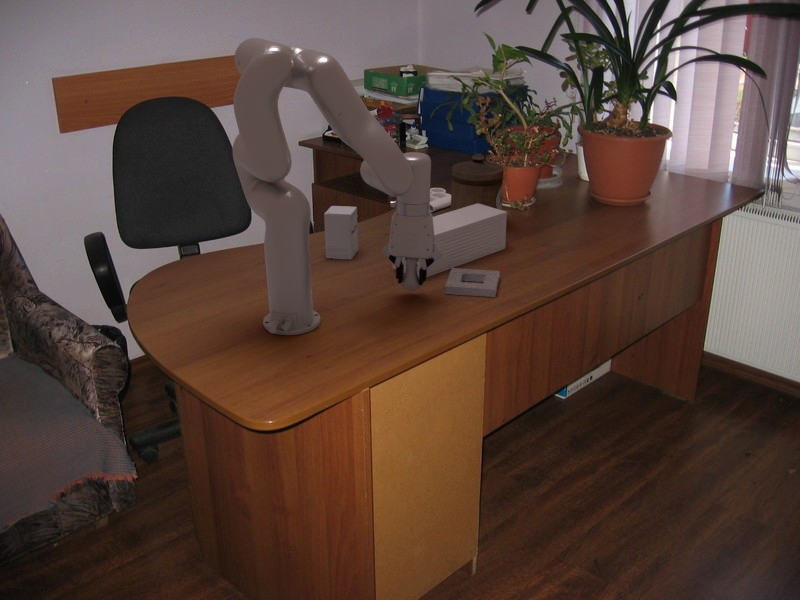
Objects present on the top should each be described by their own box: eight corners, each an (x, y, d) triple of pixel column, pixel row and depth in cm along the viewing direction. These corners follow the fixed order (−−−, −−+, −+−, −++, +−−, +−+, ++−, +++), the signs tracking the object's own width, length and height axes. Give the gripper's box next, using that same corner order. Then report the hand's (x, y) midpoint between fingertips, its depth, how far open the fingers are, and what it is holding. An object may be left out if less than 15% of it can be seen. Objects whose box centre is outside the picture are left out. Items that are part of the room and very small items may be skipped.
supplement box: (352, 260, 217) (350, 214, 212) (325, 258, 219) (322, 213, 214) (359, 250, 224) (357, 206, 219) (332, 249, 225) (330, 204, 220)
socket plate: (495, 297, 194) (495, 289, 193) (444, 294, 196) (445, 286, 195) (499, 278, 205) (499, 270, 204) (451, 275, 207) (451, 267, 206)
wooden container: (510, 232, 237) (513, 157, 228) (463, 239, 232) (465, 162, 223) (486, 217, 249) (489, 145, 241) (442, 223, 245) (442, 150, 236)
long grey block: (420, 280, 205) (420, 239, 201) (392, 268, 212) (391, 229, 208) (505, 249, 225) (506, 211, 220) (476, 239, 232) (477, 203, 227)
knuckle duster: (426, 216, 252) (392, 207, 261) (463, 203, 264) (428, 195, 273) (426, 206, 251) (391, 197, 260) (463, 193, 263) (428, 185, 272)
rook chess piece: (409, 282, 197) (410, 250, 194) (424, 287, 195) (425, 255, 191) (397, 287, 194) (398, 255, 191) (412, 292, 191) (413, 260, 188)
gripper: (373, 209, 185) (372, 285, 192) (447, 215, 182) (444, 291, 189) (380, 200, 191) (379, 274, 199) (452, 206, 189) (448, 280, 196)
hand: (411, 281), depth 194 cm, fingers closed on rook chess piece, 4 cm apart
